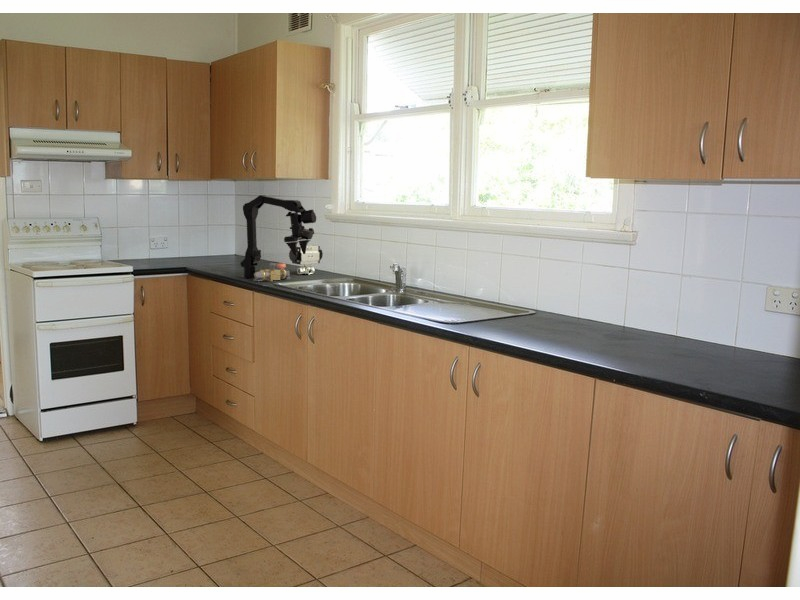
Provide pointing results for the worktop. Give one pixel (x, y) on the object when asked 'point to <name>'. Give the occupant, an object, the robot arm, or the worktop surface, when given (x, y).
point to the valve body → (271, 275)
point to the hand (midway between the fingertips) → (299, 254)
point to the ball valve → (306, 258)
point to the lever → (279, 265)
